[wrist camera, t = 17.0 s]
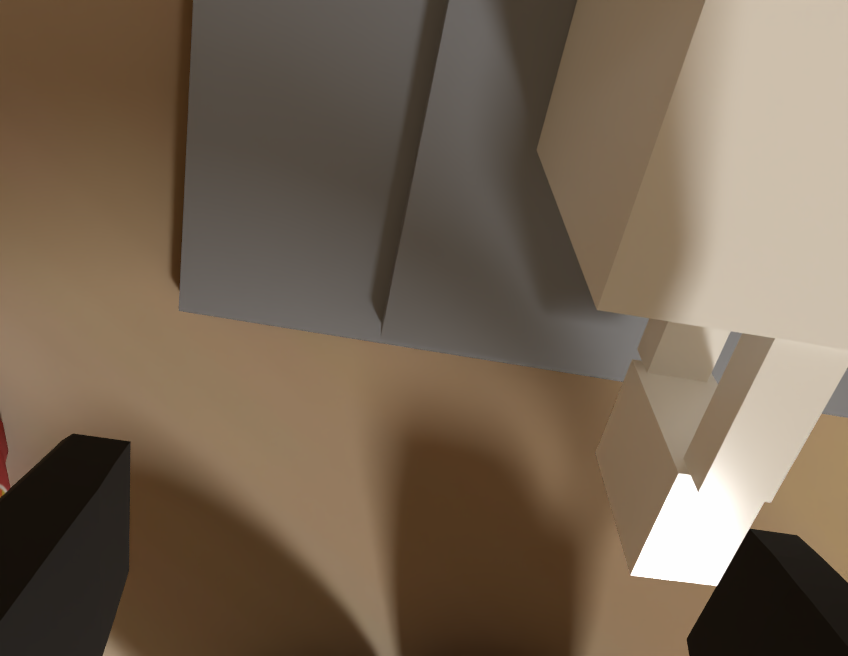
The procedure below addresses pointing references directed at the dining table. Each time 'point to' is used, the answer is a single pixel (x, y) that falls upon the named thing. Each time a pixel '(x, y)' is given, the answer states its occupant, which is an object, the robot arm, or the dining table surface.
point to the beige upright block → (707, 250)
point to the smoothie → (3, 462)
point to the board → (391, 181)
